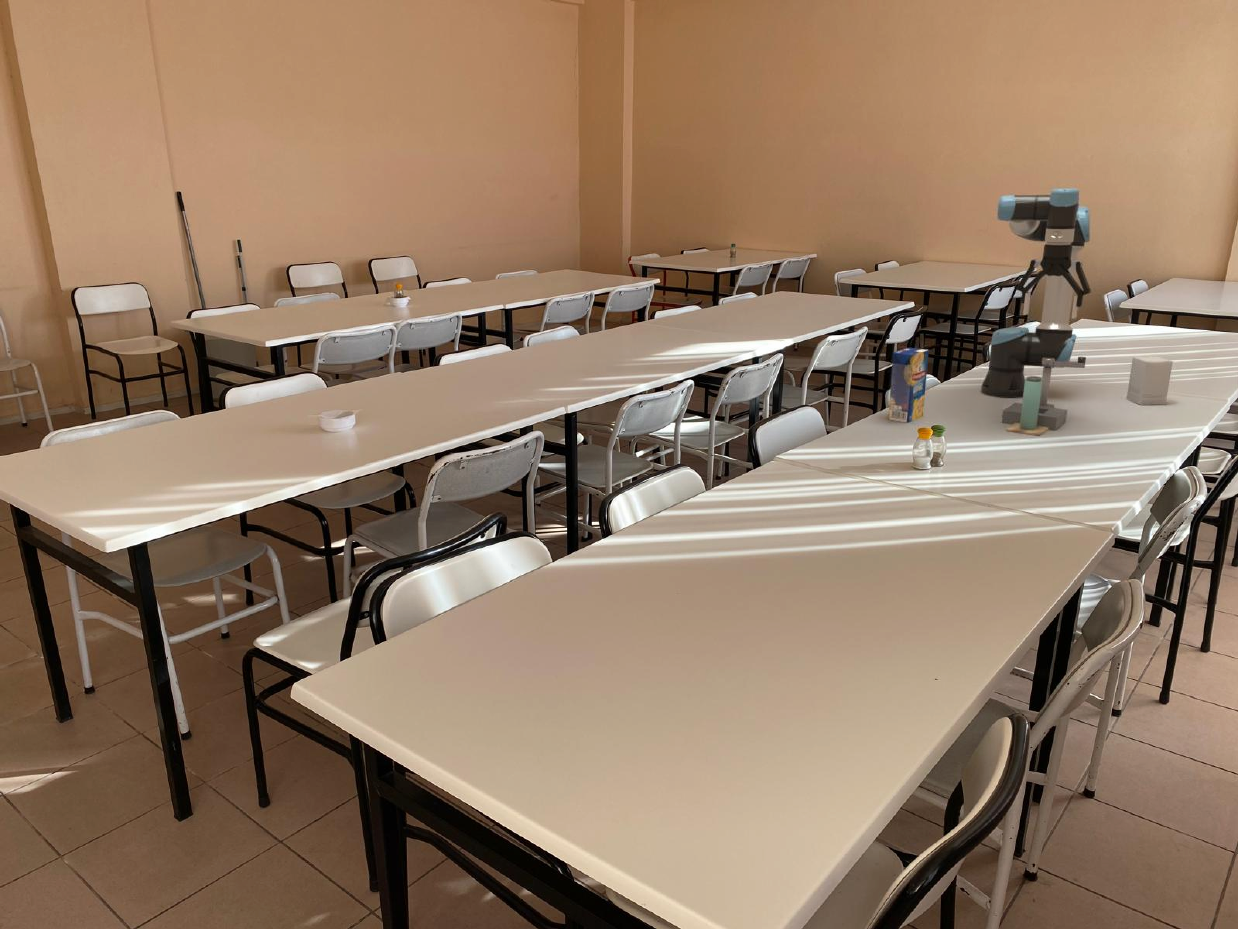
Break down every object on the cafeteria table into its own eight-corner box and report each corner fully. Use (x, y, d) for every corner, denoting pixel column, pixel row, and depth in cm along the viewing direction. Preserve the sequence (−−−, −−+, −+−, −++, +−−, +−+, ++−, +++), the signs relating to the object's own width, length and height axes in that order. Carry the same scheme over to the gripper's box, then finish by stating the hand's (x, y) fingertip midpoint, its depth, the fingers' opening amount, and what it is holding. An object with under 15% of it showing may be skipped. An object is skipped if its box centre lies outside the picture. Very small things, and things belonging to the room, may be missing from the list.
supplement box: (1166, 404, 299) (1174, 361, 295) (1139, 405, 299) (1146, 361, 295) (1151, 398, 308) (1158, 355, 303) (1125, 399, 308) (1132, 356, 304)
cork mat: (1005, 430, 274) (1005, 429, 274) (1015, 423, 281) (1015, 421, 281) (1040, 436, 268) (1040, 434, 268) (1049, 428, 275) (1049, 426, 275)
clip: (1042, 366, 283) (1043, 356, 282) (1040, 364, 286) (1042, 354, 285) (1085, 368, 279) (1086, 358, 278) (1083, 366, 282) (1085, 356, 281)
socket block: (1001, 422, 283) (1007, 372, 278) (1017, 411, 295) (1023, 363, 290) (1055, 430, 273) (1062, 378, 268) (1069, 418, 285) (1076, 369, 280)
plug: (1017, 428, 274) (1023, 378, 269) (1022, 424, 278) (1028, 375, 273) (1033, 430, 271) (1040, 380, 266) (1038, 427, 275) (1044, 377, 270)
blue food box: (923, 415, 293) (928, 349, 286) (907, 422, 285) (913, 355, 279) (903, 412, 298) (908, 347, 291) (888, 419, 290) (893, 352, 283)
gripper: (1010, 243, 265) (1002, 314, 272) (1102, 245, 250) (1091, 321, 257) (1018, 241, 271) (1010, 311, 277) (1108, 243, 256) (1098, 317, 262)
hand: (1049, 316), depth 267 cm, fingers open, 13 cm apart
